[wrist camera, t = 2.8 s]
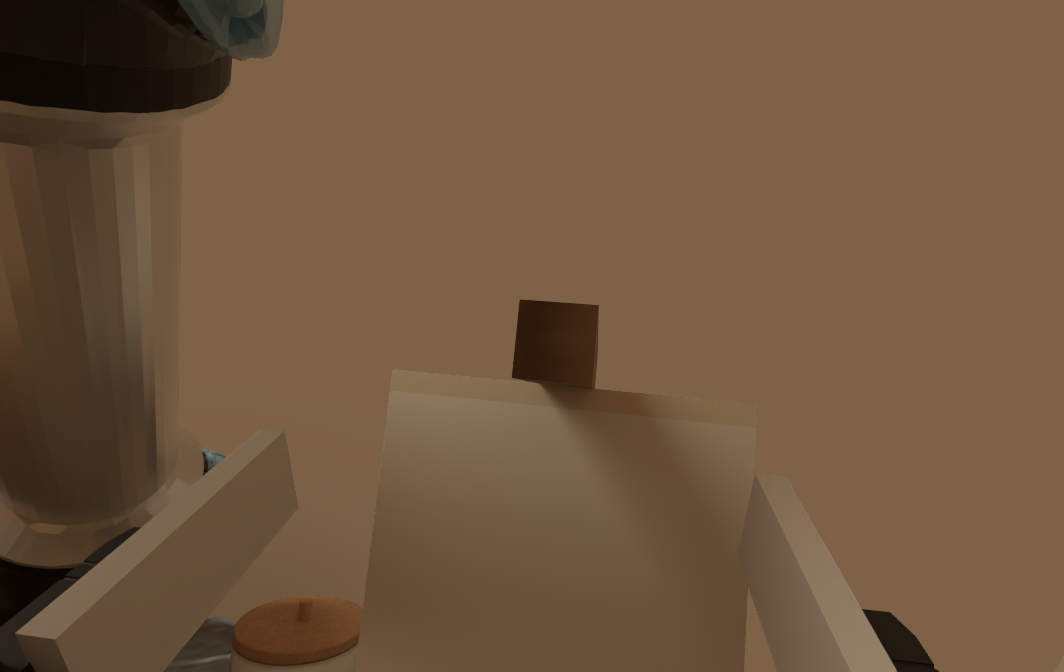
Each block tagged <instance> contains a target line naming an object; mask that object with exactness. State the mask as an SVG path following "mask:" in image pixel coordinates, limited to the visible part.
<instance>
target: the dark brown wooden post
mask: <svg viewBox="0 0 1064 672" xmlns="http://www.w3.org/2000/svg"><path fill="white" fill-rule="evenodd" d="M598 310H599V305H586V304H574V303H560V302H546V301H533V300H520V302H519V312H518V323H517V332H516V342H515V352H514V362H513V371H512V378H515V379H520V380H524V381H529V382H535V383H539V384H549V385H559V386H570V387H580V388H591V389H595V378H596V367H597V352H598Z"/></svg>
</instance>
